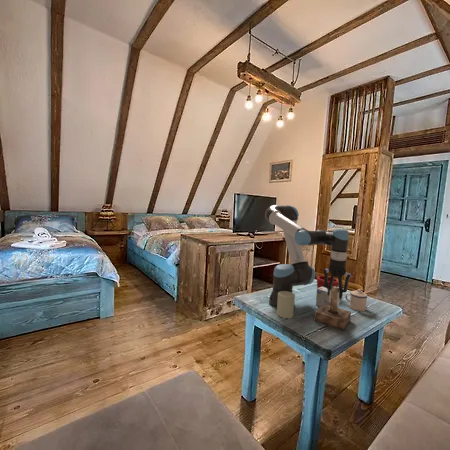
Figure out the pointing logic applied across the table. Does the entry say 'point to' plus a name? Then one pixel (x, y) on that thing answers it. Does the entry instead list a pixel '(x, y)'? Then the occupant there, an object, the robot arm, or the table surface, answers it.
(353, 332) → the table surface
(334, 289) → the dowel pin
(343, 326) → the bore block
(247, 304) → the table surface
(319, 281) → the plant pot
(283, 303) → the can
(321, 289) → the light bulb box
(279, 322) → the table surface
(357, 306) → the teacup with lid
